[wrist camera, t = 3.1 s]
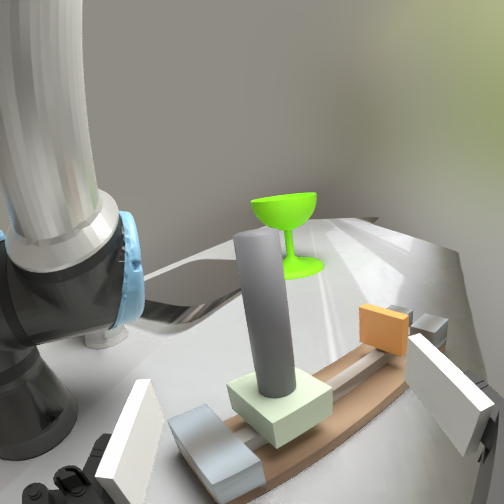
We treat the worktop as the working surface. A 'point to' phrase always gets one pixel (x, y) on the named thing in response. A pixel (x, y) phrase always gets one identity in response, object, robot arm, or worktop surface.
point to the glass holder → (106, 338)
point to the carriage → (272, 348)
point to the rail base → (308, 443)
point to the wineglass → (289, 227)
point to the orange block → (384, 329)
